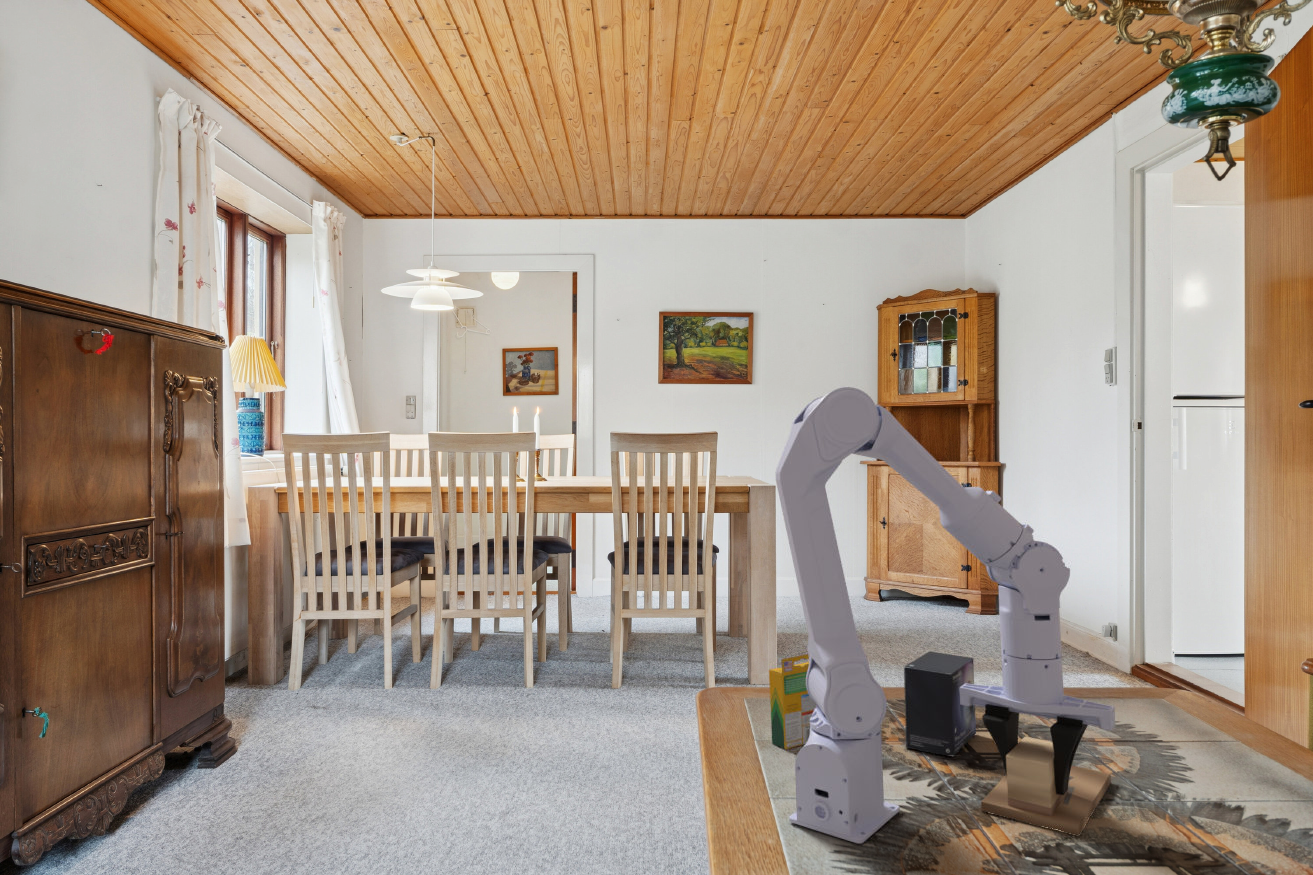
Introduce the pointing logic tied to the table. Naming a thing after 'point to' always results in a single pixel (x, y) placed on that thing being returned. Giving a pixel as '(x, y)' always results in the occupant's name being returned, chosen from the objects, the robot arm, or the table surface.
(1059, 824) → the board
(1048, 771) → the block
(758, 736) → the table surface
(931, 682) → the small box
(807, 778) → the robot arm
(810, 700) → the crayon box
